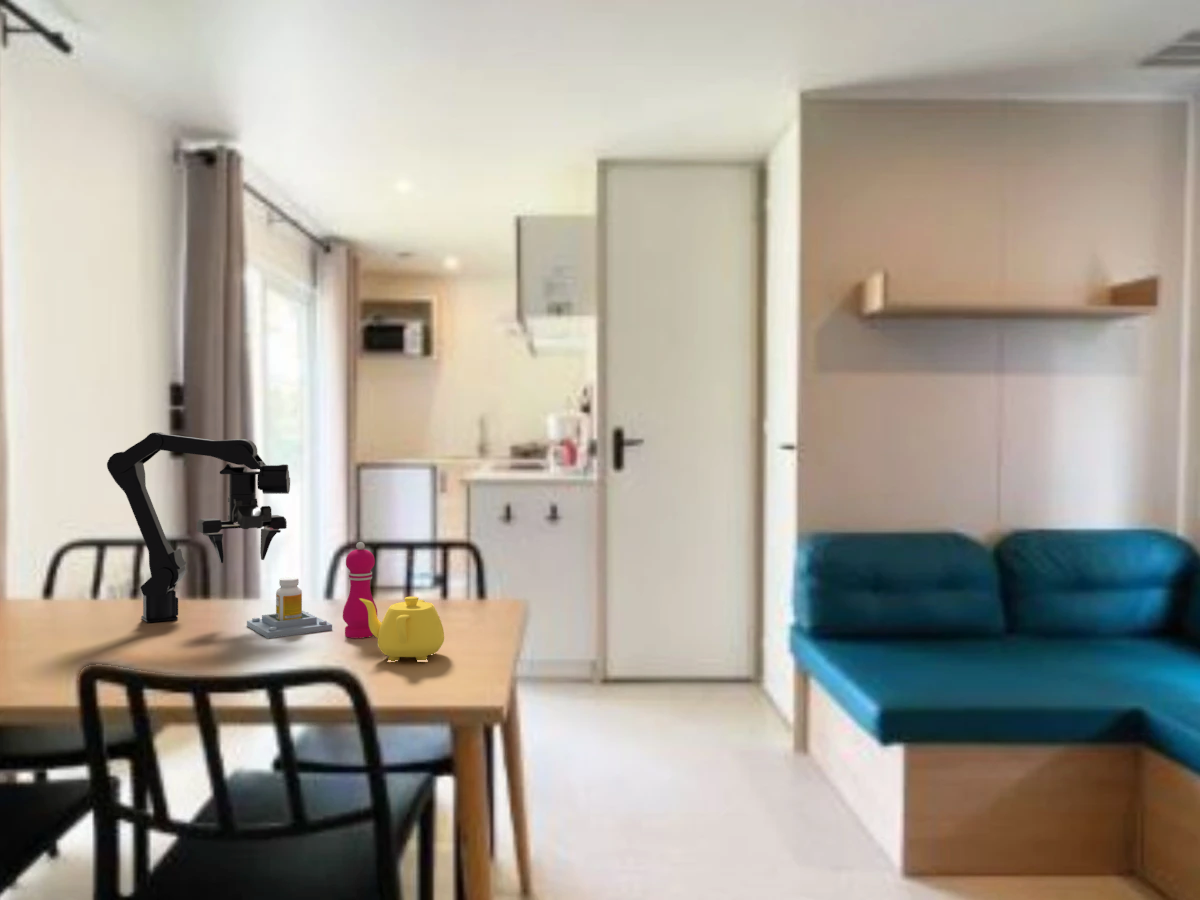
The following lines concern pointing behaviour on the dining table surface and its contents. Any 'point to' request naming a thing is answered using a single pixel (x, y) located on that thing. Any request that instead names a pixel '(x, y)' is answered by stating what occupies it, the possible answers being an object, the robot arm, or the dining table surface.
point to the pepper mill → (358, 592)
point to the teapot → (407, 629)
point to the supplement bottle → (288, 599)
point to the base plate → (288, 625)
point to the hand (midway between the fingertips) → (242, 561)
